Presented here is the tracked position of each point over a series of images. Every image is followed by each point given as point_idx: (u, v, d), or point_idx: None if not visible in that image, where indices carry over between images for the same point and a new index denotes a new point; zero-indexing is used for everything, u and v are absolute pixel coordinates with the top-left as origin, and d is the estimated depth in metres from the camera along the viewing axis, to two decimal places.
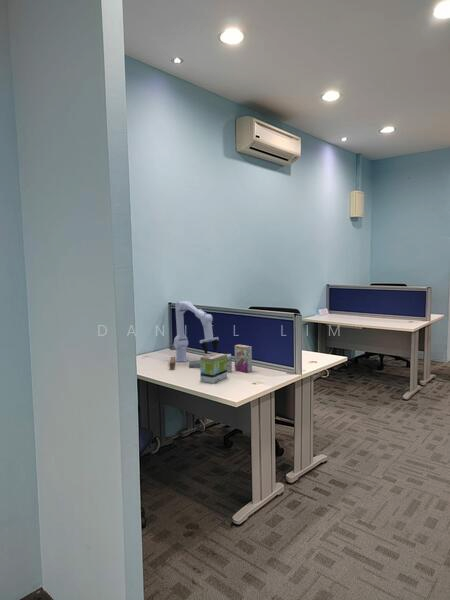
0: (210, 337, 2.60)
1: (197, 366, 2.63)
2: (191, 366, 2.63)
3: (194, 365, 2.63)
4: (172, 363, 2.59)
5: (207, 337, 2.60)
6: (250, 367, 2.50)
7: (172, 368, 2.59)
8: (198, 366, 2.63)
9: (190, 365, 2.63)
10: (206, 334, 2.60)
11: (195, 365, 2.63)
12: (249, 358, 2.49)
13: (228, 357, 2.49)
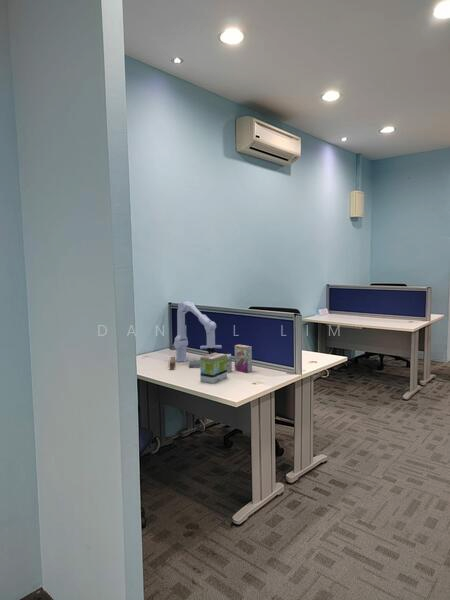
0: (210, 345, 2.65)
1: (197, 366, 2.63)
2: (191, 366, 2.63)
3: (194, 365, 2.63)
4: (172, 363, 2.59)
5: (207, 344, 2.66)
6: (250, 367, 2.50)
7: (172, 368, 2.59)
8: (198, 366, 2.63)
9: (190, 365, 2.63)
10: (207, 341, 2.66)
11: (195, 365, 2.63)
12: (249, 358, 2.49)
13: (228, 357, 2.49)
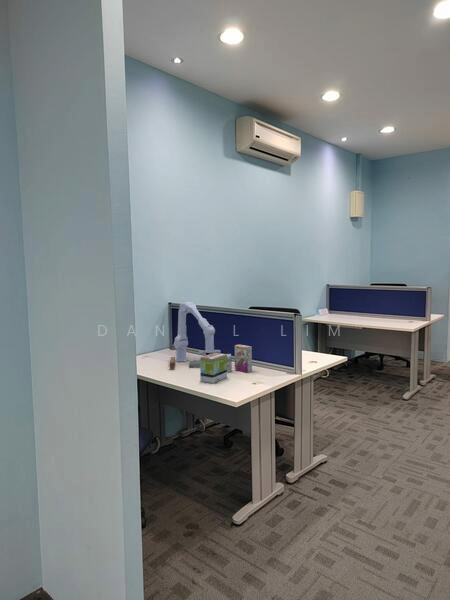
0: (208, 350, 2.65)
1: (197, 366, 2.63)
2: (191, 366, 2.63)
3: (194, 365, 2.63)
4: (172, 363, 2.59)
5: (206, 349, 2.66)
6: (250, 367, 2.50)
7: (172, 368, 2.59)
8: (198, 366, 2.63)
9: (190, 365, 2.63)
10: (206, 346, 2.66)
11: (195, 365, 2.63)
12: (249, 358, 2.49)
13: (228, 357, 2.49)
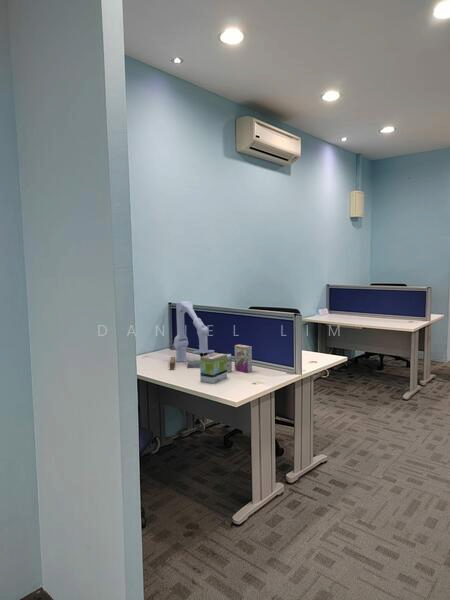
0: (202, 350, 2.65)
1: (195, 366, 2.63)
2: (189, 366, 2.63)
3: (192, 365, 2.63)
4: (172, 363, 2.59)
5: (200, 349, 2.66)
6: (250, 367, 2.50)
7: (172, 368, 2.59)
8: (196, 366, 2.63)
9: (188, 365, 2.62)
10: (199, 346, 2.66)
11: (193, 365, 2.63)
12: (249, 358, 2.49)
13: (228, 357, 2.49)
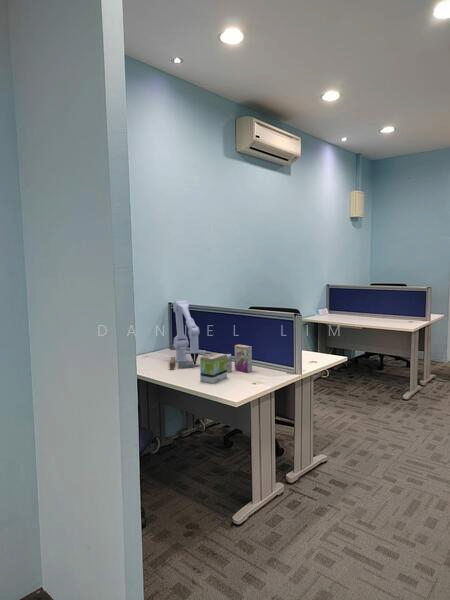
0: (193, 350, 2.64)
1: (186, 366, 2.62)
2: (180, 366, 2.62)
3: (183, 365, 2.62)
4: (172, 363, 2.59)
5: (191, 350, 2.65)
6: (250, 367, 2.50)
7: (172, 368, 2.59)
8: (187, 366, 2.62)
9: (179, 365, 2.62)
10: (190, 346, 2.66)
11: (184, 365, 2.62)
12: (249, 358, 2.49)
13: (228, 357, 2.49)
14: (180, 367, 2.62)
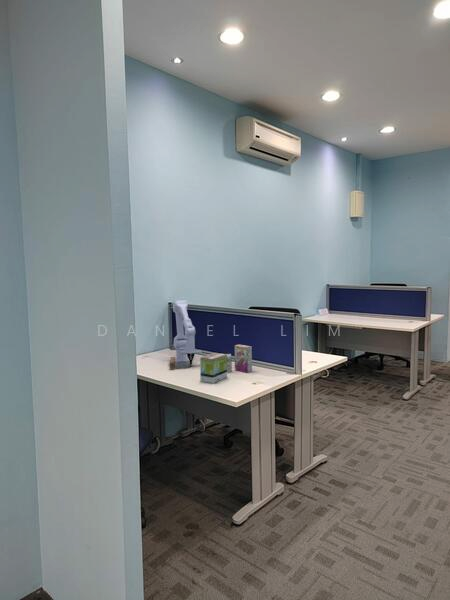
0: (189, 350, 2.64)
1: (182, 367, 2.62)
2: (176, 367, 2.61)
3: (179, 366, 2.61)
4: (172, 363, 2.59)
5: (187, 350, 2.65)
6: (250, 367, 2.50)
7: (172, 368, 2.59)
8: (183, 367, 2.62)
9: (175, 366, 2.61)
10: (186, 347, 2.65)
11: (180, 366, 2.61)
12: (249, 358, 2.49)
13: (228, 357, 2.49)
14: (176, 367, 2.61)
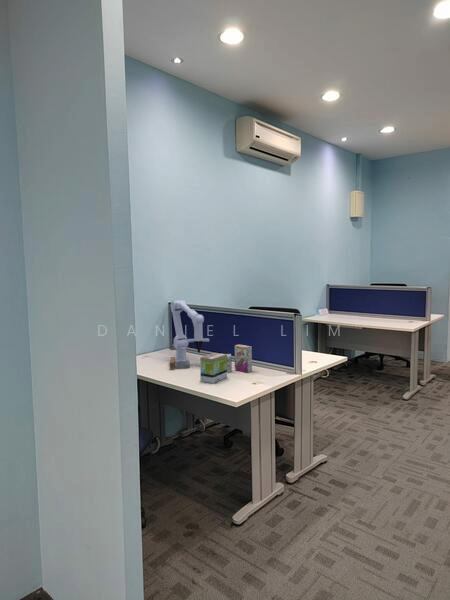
0: (197, 338, 2.65)
1: (182, 367, 2.62)
2: (176, 367, 2.61)
3: (179, 366, 2.61)
4: (172, 363, 2.59)
5: (195, 337, 2.66)
6: (250, 367, 2.50)
7: (172, 368, 2.59)
8: (183, 367, 2.62)
9: (175, 366, 2.61)
10: (194, 334, 2.66)
11: (180, 366, 2.61)
12: (249, 358, 2.49)
13: (228, 357, 2.49)
14: (176, 367, 2.61)
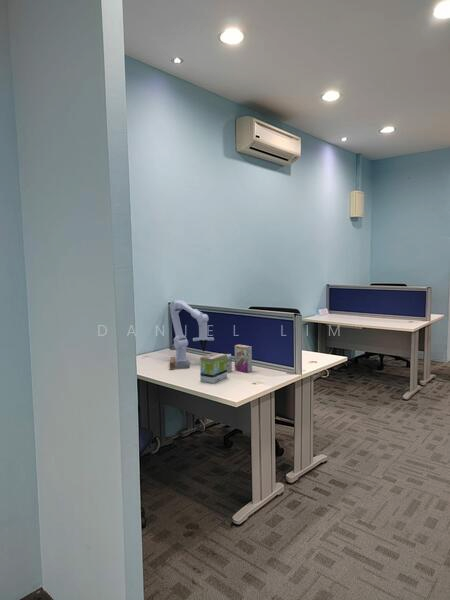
0: (202, 337, 2.68)
1: (182, 367, 2.62)
2: (176, 367, 2.61)
3: (179, 366, 2.61)
4: (172, 363, 2.59)
5: (200, 336, 2.69)
6: (250, 367, 2.50)
7: (172, 368, 2.59)
8: (183, 367, 2.62)
9: (175, 366, 2.61)
10: (199, 333, 2.69)
11: (180, 366, 2.61)
12: (249, 358, 2.49)
13: (228, 357, 2.49)
14: (176, 367, 2.61)
